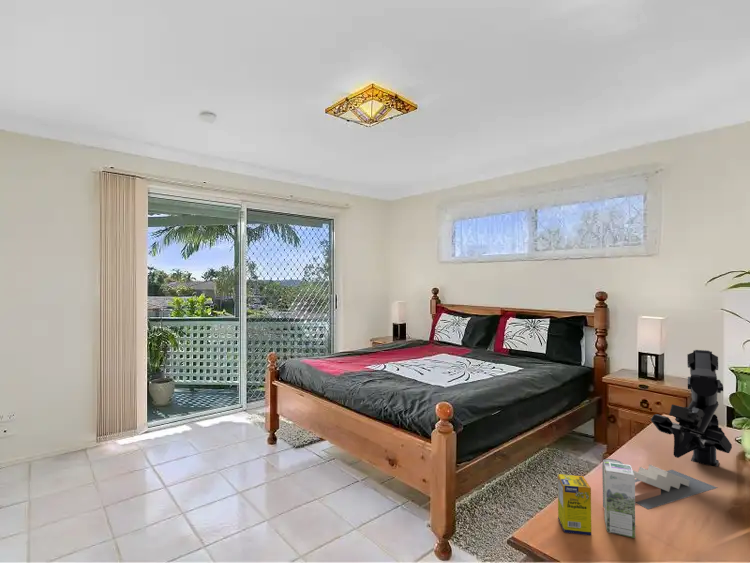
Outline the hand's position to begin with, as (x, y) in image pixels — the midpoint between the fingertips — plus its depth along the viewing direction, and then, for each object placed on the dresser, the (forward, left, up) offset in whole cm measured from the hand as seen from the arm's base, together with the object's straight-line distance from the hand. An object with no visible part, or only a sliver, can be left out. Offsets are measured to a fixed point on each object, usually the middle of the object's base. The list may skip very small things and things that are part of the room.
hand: (675, 456), depth 116 cm
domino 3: (-1, +1, -7) cm, 7 cm away
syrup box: (+34, -7, -8) cm, 36 cm away
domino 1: (+6, -3, -7) cm, 9 cm away
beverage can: (+26, -10, -8) cm, 29 cm away
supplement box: (+40, -15, -8) cm, 43 cm away
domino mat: (+6, -3, -8) cm, 10 cm away
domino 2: (+2, -1, -7) cm, 7 cm away
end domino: (+9, -4, -7) cm, 12 cm away
